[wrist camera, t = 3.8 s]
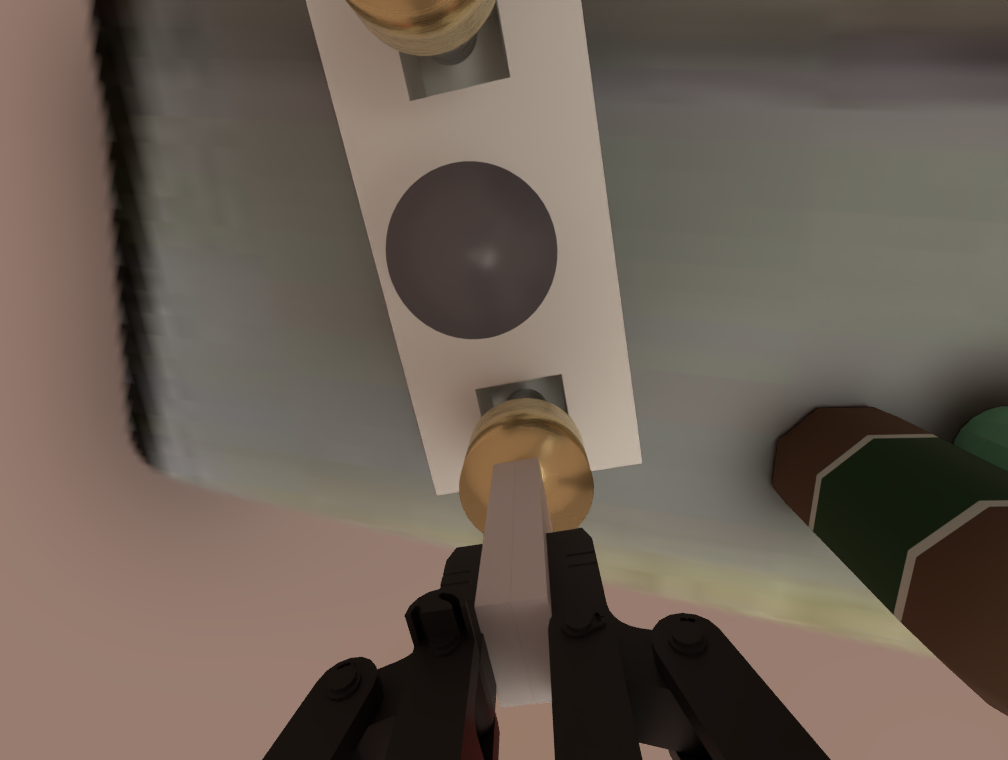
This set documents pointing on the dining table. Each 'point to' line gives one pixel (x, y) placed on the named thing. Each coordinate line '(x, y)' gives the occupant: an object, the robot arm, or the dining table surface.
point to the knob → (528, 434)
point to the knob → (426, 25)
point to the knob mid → (471, 250)
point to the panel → (536, 160)
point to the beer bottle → (910, 530)
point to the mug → (987, 436)
